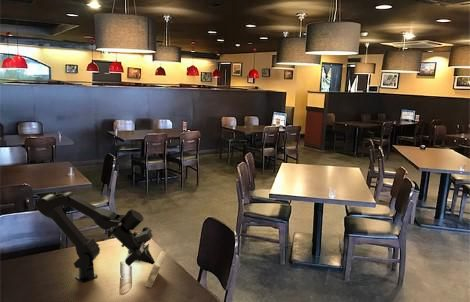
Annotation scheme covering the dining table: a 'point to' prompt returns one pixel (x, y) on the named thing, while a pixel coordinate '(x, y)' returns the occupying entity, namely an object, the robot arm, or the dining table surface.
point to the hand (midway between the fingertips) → (154, 263)
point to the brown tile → (155, 269)
